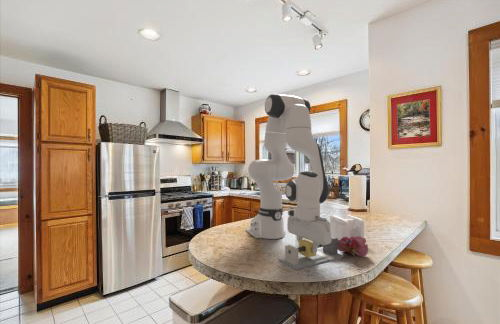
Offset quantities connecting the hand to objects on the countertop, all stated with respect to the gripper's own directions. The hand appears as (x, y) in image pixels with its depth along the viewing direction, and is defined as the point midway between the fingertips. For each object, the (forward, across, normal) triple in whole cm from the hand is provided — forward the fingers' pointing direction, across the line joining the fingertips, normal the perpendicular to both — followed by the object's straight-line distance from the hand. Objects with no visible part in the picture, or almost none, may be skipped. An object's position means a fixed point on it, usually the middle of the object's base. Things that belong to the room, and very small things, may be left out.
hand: (307, 250), depth 93 cm
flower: (+4, -5, -20) cm, 21 cm away
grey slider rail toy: (+4, 0, -2) cm, 4 cm away
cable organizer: (+4, +8, -34) cm, 35 cm away
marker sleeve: (+2, 0, 0) cm, 2 cm away
